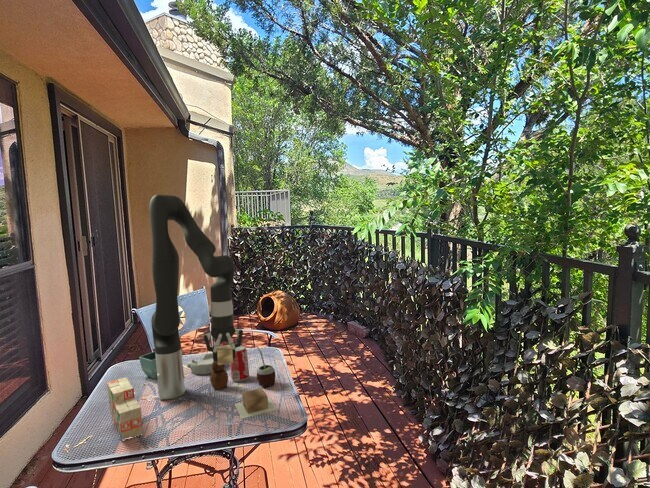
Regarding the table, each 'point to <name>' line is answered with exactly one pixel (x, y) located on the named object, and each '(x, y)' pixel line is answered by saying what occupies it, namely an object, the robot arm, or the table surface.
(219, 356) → the maple brick
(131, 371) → the table surface
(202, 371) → the dish
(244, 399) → the walnut brick
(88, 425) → the table surface
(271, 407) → the build board
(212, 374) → the wooden figurine
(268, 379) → the mate gourd
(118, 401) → the stack of blocks
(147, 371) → the flower pot
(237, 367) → the soda can
